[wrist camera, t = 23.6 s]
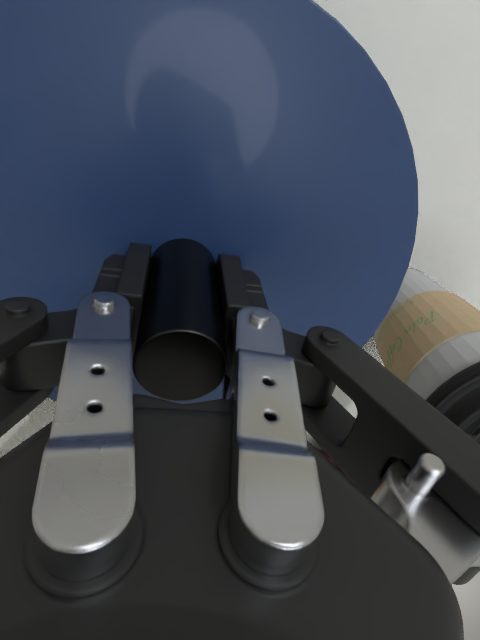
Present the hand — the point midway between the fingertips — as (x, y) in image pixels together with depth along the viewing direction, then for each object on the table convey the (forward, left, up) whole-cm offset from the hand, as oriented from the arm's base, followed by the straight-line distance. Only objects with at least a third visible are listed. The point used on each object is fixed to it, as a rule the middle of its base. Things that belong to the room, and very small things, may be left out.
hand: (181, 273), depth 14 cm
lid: (0, 0, -1) cm, 1 cm away
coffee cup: (+19, -8, -15) cm, 25 cm away
